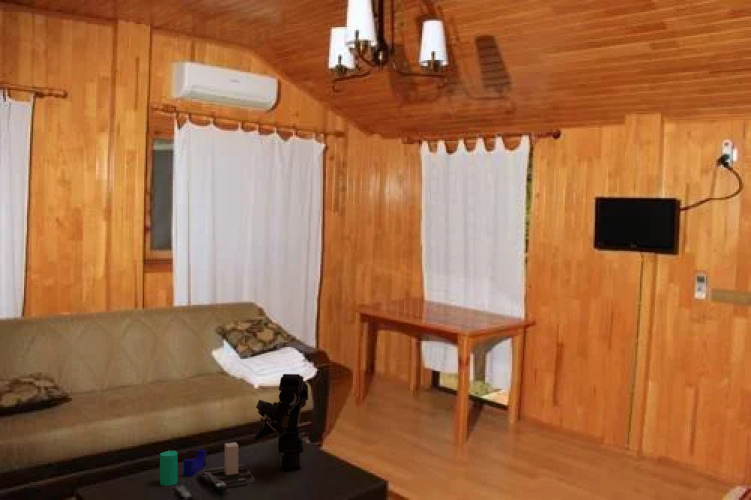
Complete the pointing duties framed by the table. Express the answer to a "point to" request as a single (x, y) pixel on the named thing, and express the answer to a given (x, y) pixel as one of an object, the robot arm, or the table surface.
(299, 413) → the robot arm
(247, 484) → the cord near
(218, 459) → the table surface
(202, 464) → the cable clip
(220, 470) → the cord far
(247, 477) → the panel
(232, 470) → the pinkish beige rectangular block
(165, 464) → the candle
